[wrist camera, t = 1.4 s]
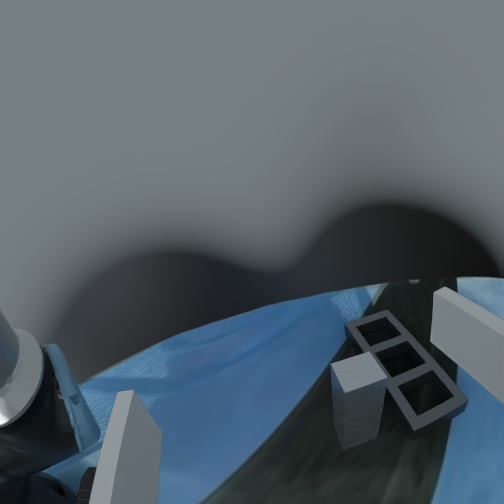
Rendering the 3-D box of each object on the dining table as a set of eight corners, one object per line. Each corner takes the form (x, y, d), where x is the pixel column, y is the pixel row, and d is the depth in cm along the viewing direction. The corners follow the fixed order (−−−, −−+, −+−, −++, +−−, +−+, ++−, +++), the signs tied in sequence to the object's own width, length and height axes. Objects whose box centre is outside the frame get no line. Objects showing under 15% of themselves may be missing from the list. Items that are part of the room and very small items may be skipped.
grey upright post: (343, 449, 28) (344, 392, 24) (333, 424, 32) (330, 363, 28) (377, 437, 28) (387, 377, 24) (365, 413, 32) (369, 351, 28)
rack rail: (410, 440, 26) (414, 431, 25) (345, 334, 50) (344, 323, 49) (463, 411, 26) (468, 400, 25) (386, 320, 50) (387, 309, 49)
